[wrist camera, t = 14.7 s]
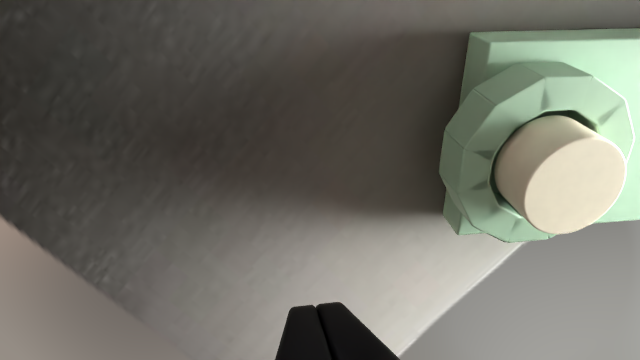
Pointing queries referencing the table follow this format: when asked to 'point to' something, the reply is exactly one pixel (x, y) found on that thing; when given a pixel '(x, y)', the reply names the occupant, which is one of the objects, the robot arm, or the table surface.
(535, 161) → the button
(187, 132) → the table surface
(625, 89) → the control block
